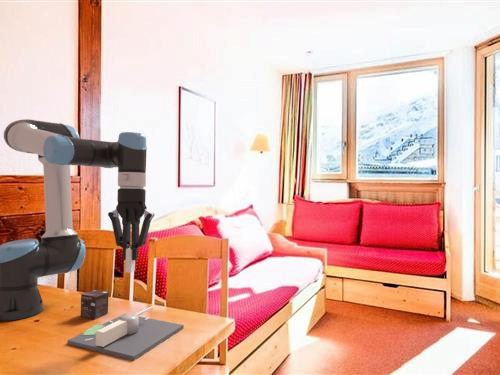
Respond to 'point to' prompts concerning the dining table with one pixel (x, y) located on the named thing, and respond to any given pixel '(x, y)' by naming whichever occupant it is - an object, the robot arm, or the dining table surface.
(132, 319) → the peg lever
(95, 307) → the box
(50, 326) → the dining table surface
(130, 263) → the robot arm
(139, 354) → the dial board
